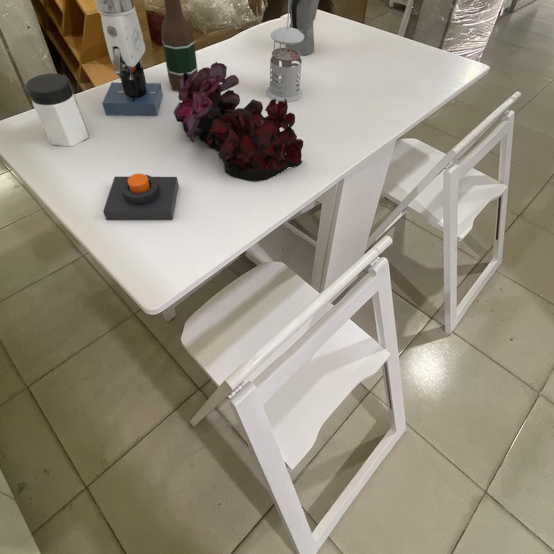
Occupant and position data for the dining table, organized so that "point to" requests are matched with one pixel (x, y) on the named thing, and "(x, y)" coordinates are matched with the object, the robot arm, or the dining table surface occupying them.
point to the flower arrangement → (237, 126)
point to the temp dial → (138, 81)
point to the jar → (57, 109)
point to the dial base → (132, 101)
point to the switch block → (142, 200)
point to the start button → (138, 183)
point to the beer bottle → (177, 44)
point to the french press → (285, 65)
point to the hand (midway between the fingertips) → (135, 88)
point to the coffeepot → (303, 23)
